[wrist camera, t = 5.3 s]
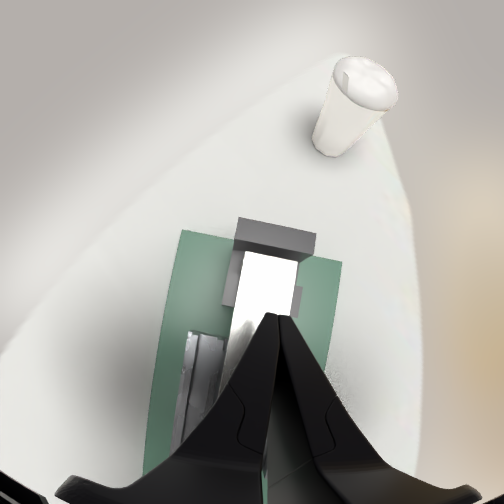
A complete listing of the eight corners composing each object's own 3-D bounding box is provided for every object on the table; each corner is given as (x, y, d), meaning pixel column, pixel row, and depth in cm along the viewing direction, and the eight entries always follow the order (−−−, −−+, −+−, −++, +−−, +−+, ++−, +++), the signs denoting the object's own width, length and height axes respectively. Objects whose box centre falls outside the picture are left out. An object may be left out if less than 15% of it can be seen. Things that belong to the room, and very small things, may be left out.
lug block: (275, 315, 20) (303, 318, 13) (221, 305, 20) (221, 304, 13) (284, 258, 21) (316, 233, 14) (233, 248, 20) (238, 217, 13)
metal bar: (233, 527, 12) (235, 549, 10) (194, 522, 12) (192, 544, 10) (288, 267, 16) (299, 260, 13) (242, 258, 15) (246, 249, 13)
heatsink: (268, 461, 18) (275, 479, 15) (172, 446, 17) (166, 464, 15) (293, 347, 20) (305, 353, 17) (191, 329, 19) (186, 333, 16)
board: (286, 499, 18) (288, 504, 17) (144, 479, 17) (141, 484, 16) (338, 263, 22) (342, 261, 21) (183, 232, 21) (182, 229, 20)
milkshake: (285, 135, 23) (318, 48, 14) (331, 113, 24) (374, 35, 15) (319, 178, 23) (374, 103, 13) (363, 151, 24) (422, 82, 14)
